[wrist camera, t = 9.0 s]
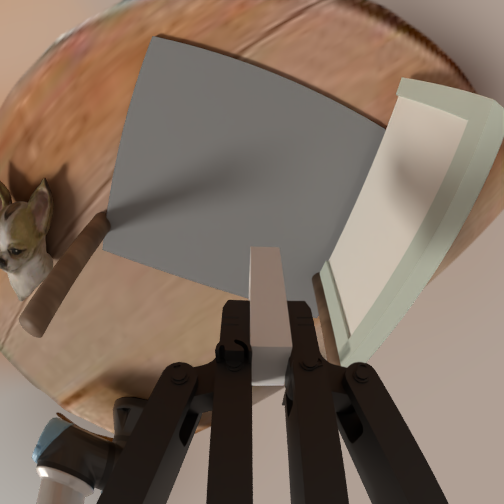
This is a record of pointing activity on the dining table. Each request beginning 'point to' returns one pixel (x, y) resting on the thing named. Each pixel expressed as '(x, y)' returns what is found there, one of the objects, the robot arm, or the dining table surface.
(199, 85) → the mat
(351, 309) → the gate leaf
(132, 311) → the dining table surface
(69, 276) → the gate posts
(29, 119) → the dining table surface
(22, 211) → the ceramic sculpture
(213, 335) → the dining table surface
